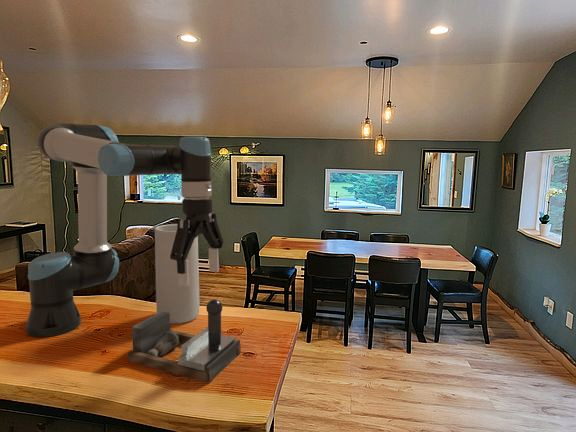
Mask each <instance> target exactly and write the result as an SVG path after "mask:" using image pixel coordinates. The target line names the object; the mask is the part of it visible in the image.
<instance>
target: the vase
mask: <svg viewBox="0 0 576 432" xmlns="http://www.w3.org/2000/svg"><path fill="white" fill-rule="evenodd" d="M176 232H177V223H170V224H169V223H168V224H163V225H158V226H155V228H154V250H155V251H154V254H155V255H154V256H155V257H154V260H155V261H154V262H155V302H156V303H155V304H156V314H157V313H159V312H161V311H162V312H167V313H169V318H170V325H177V324H179V325H180V324H185V323H189V322H191V321H193V320H195V319H196V318H198V316H200V315H199V314H200V276H199V275H200V272H199V271H200V270H199V269H200V268H199V235H198V236H197V237H196V238H195V239H194V241H193V244H192V246H191V248H190V251H189V253H188V256H187V258H186V260H189V285H190V286H188V287H187V286H180V285H179V282H178V272H177V261H176V260H173V259H170V255H171V251H172V247H173V243H174V240H175V236H176ZM189 232H190V231H189ZM175 255H176V254H175ZM182 256H183V254H182Z"/></svg>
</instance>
